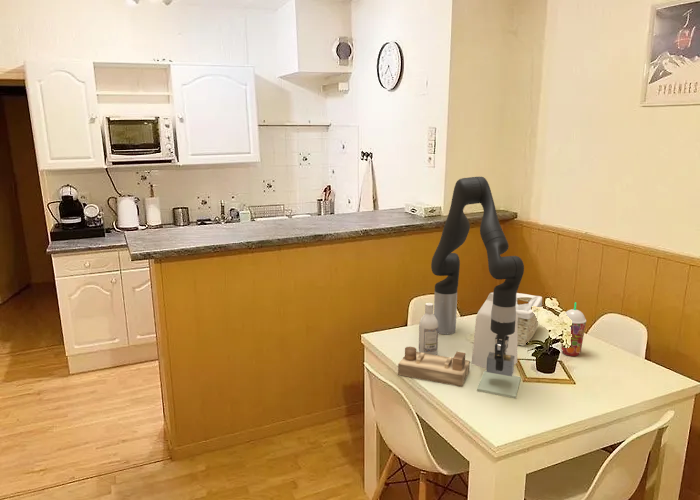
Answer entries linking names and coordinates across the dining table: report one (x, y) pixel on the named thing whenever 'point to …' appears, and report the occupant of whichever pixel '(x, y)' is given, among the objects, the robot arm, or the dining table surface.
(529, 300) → the storage basket
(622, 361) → the dining table surface
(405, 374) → the wooden peg board
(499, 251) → the robot arm
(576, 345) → the smoothie
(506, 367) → the lever cap
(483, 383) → the mat
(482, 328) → the milk
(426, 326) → the bath foam
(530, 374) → the dining table surface
